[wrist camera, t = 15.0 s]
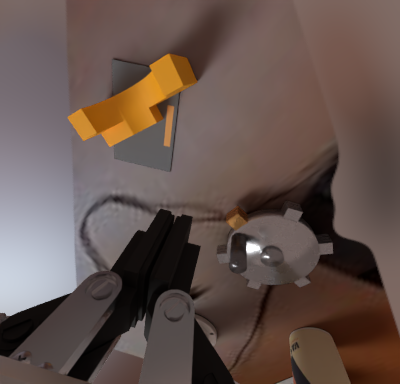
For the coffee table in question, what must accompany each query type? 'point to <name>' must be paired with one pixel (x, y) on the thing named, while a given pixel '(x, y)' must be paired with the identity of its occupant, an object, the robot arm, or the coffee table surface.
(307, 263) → the sprocket
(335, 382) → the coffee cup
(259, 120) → the coffee table surface
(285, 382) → the skincare box
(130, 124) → the pipe clamp
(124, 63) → the mat
